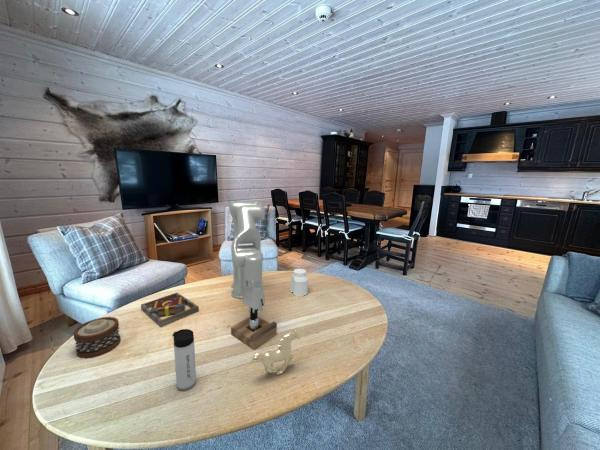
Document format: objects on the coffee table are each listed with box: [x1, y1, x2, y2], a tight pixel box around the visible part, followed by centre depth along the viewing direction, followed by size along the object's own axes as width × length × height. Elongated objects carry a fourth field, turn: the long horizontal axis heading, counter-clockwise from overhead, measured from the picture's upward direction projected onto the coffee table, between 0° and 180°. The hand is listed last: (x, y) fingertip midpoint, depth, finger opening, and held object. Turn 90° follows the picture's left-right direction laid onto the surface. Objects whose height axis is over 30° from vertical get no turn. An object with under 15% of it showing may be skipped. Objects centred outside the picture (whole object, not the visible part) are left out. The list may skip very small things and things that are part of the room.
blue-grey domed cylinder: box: [250, 318, 258, 332], centre depth 113 cm, size 4×4×8 cm
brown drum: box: [73, 316, 122, 359], centre depth 102 cm, size 15×11×15 cm
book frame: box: [140, 292, 200, 328], centre depth 132 cm, size 24×19×3 cm
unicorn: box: [249, 326, 301, 376], centre depth 90 cm, size 20×4×17 cm, turn 119°
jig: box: [230, 316, 278, 350], centre depth 113 cm, size 16×14×6 cm
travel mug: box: [171, 328, 197, 392], centre depth 84 cm, size 6×7×20 cm
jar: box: [290, 268, 309, 297], centre depth 157 cm, size 12×10×15 cm
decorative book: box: [150, 296, 187, 318], centre depth 131 cm, size 11×16×5 cm
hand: (253, 318), depth 113 cm, fingers closed
